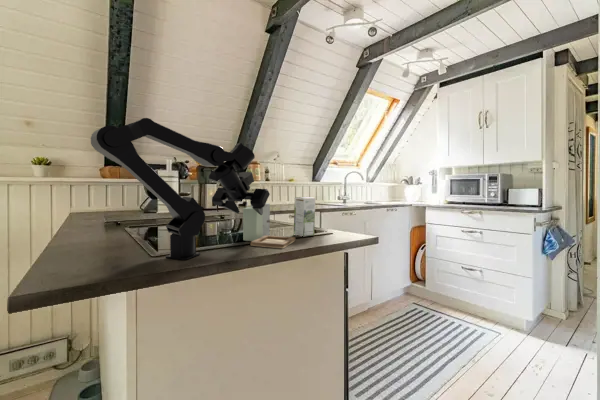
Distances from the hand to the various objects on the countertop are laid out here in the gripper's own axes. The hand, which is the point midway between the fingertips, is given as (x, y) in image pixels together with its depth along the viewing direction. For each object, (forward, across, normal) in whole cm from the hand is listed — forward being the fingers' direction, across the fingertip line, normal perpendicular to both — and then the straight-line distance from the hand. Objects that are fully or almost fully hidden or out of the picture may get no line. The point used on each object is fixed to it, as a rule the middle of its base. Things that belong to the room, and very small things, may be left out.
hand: (250, 213), depth 101 cm
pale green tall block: (+8, 0, +5) cm, 10 cm away
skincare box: (+13, +1, 0) cm, 13 cm away
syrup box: (+19, -13, -5) cm, 24 cm away
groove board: (+7, -9, +7) cm, 13 cm away
